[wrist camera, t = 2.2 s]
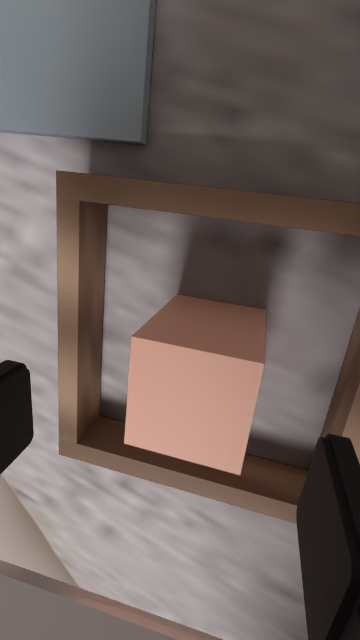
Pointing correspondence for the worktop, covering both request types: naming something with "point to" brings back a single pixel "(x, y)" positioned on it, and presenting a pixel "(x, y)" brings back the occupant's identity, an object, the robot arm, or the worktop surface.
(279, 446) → the worktop surface
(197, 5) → the worktop surface
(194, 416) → the terracotta block
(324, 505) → the robot arm
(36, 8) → the slate mat
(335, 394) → the brown wooden square frame
